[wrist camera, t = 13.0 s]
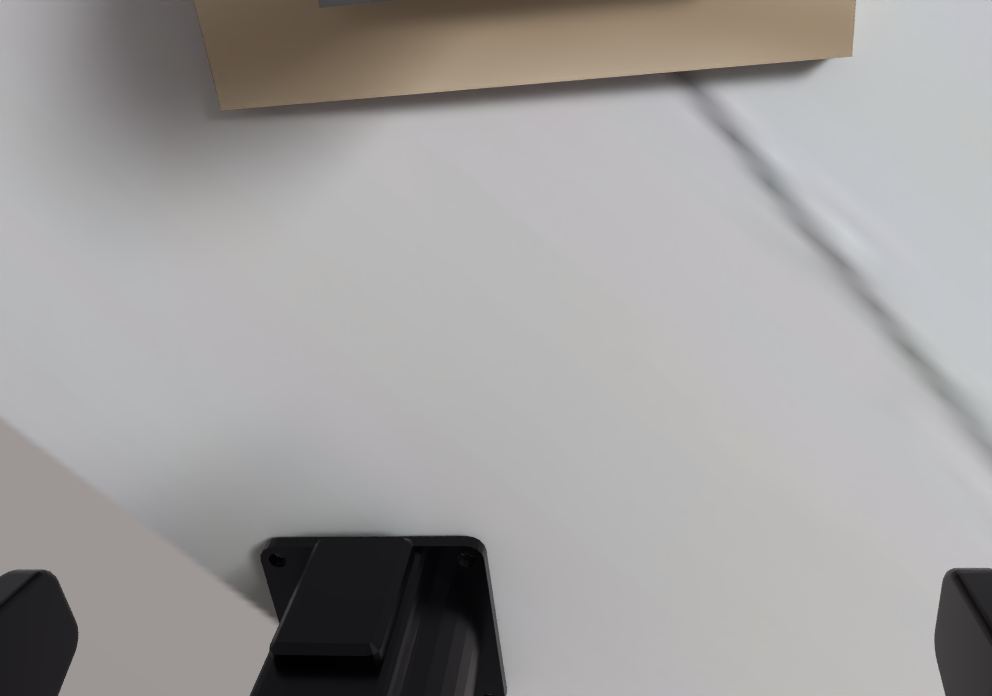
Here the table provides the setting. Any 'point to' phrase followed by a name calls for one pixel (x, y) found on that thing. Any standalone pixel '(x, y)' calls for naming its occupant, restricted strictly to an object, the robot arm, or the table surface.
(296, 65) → the board
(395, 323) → the table surface
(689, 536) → the table surface
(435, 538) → the robot arm
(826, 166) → the table surface
